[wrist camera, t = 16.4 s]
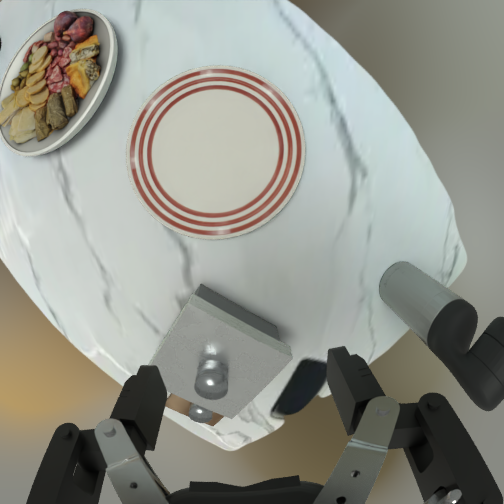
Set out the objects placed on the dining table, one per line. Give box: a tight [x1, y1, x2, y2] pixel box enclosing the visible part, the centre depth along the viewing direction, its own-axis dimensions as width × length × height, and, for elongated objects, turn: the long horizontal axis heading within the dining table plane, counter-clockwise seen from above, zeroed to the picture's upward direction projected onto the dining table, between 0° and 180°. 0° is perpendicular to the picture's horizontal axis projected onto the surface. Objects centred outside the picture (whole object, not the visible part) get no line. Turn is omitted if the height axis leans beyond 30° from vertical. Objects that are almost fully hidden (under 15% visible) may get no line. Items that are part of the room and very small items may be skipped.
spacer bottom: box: [194, 360, 229, 400], centre depth 39 cm, size 5×5×4 cm
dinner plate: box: [126, 65, 305, 240], centre depth 39 cm, size 27×27×3 cm
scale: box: [195, 284, 280, 341], centre depth 47 cm, size 16×17×8 cm
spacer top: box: [189, 402, 213, 423], centre depth 52 cm, size 5×5×4 cm
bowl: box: [0, 9, 118, 156], centre depth 31 cm, size 30×30×8 cm
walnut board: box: [165, 393, 224, 426], centre depth 54 cm, size 13×13×2 cm
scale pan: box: [148, 294, 293, 419], centre depth 42 cm, size 18×18×3 cm
